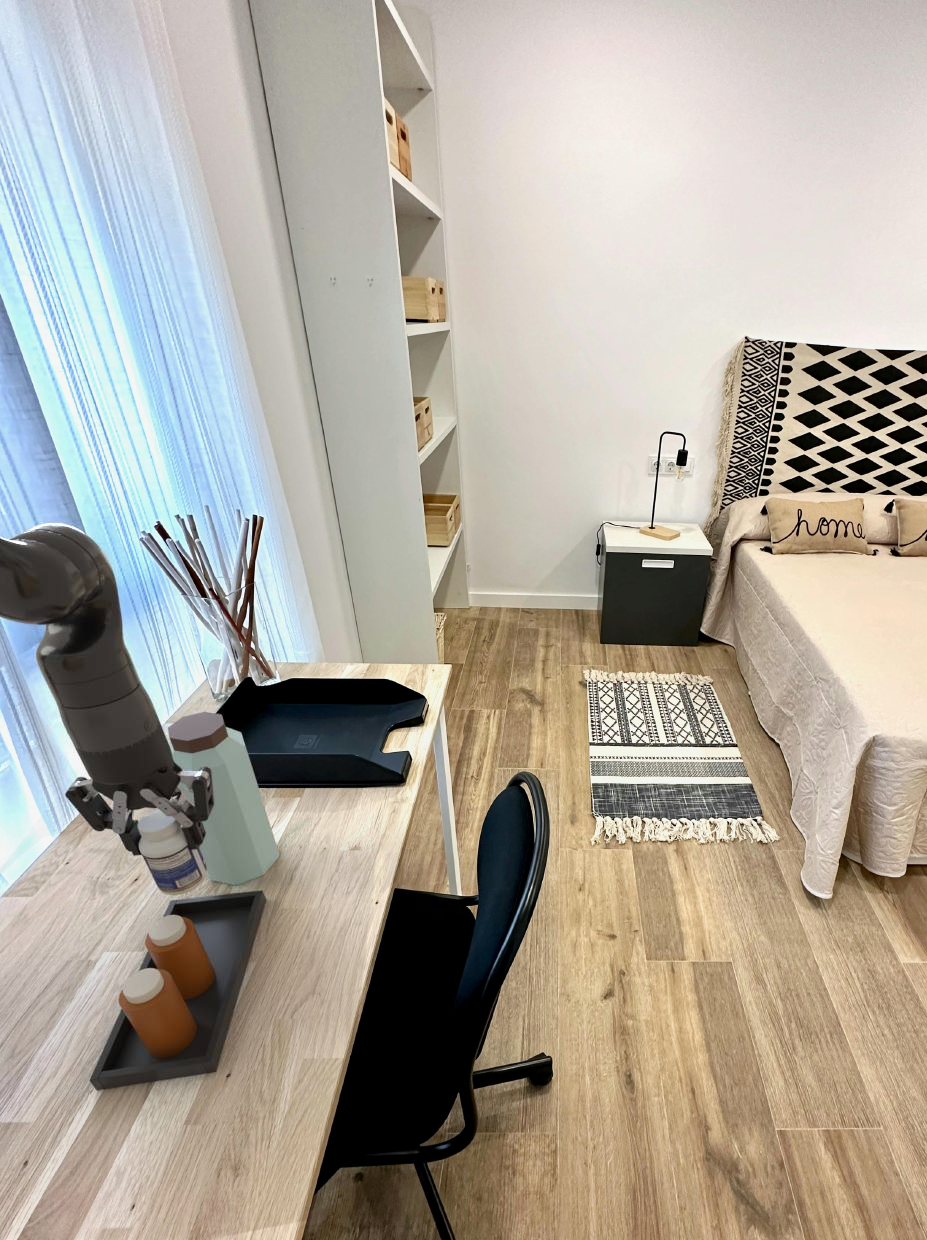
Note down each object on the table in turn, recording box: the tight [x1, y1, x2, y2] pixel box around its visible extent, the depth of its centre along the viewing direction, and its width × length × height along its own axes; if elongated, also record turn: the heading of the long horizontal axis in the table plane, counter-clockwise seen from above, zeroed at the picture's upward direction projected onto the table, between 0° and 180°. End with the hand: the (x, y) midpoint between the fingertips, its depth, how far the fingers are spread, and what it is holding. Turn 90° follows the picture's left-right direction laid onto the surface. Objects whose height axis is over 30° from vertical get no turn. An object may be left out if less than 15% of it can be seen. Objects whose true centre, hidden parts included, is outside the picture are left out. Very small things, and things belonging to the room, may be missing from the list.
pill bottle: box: [137, 809, 208, 896], centre depth 74 cm, size 5×5×10 cm
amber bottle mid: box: [144, 915, 215, 1000], centre depth 74 cm, size 5×5×10 cm
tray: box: [89, 889, 267, 1091], centre depth 76 cm, size 12×24×3 cm, turn 10°
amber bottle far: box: [118, 968, 197, 1059], centre depth 68 cm, size 5×5×10 cm
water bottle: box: [167, 711, 281, 886], centre depth 87 cm, size 10×10×25 cm
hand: (169, 847), depth 74 cm, fingers closed on pill bottle, 5 cm apart
